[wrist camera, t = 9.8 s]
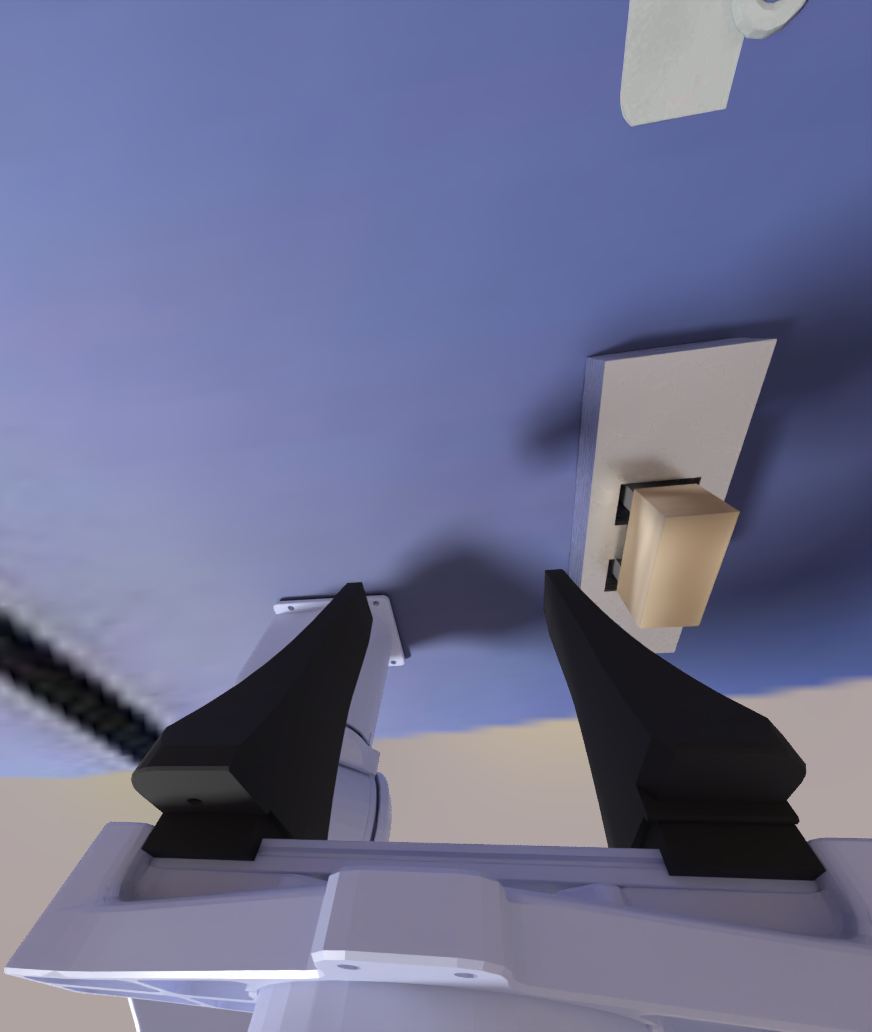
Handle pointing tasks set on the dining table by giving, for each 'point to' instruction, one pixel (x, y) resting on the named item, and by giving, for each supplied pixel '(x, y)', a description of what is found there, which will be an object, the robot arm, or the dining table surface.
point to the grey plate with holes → (656, 447)
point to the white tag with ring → (689, 53)
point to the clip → (671, 551)
